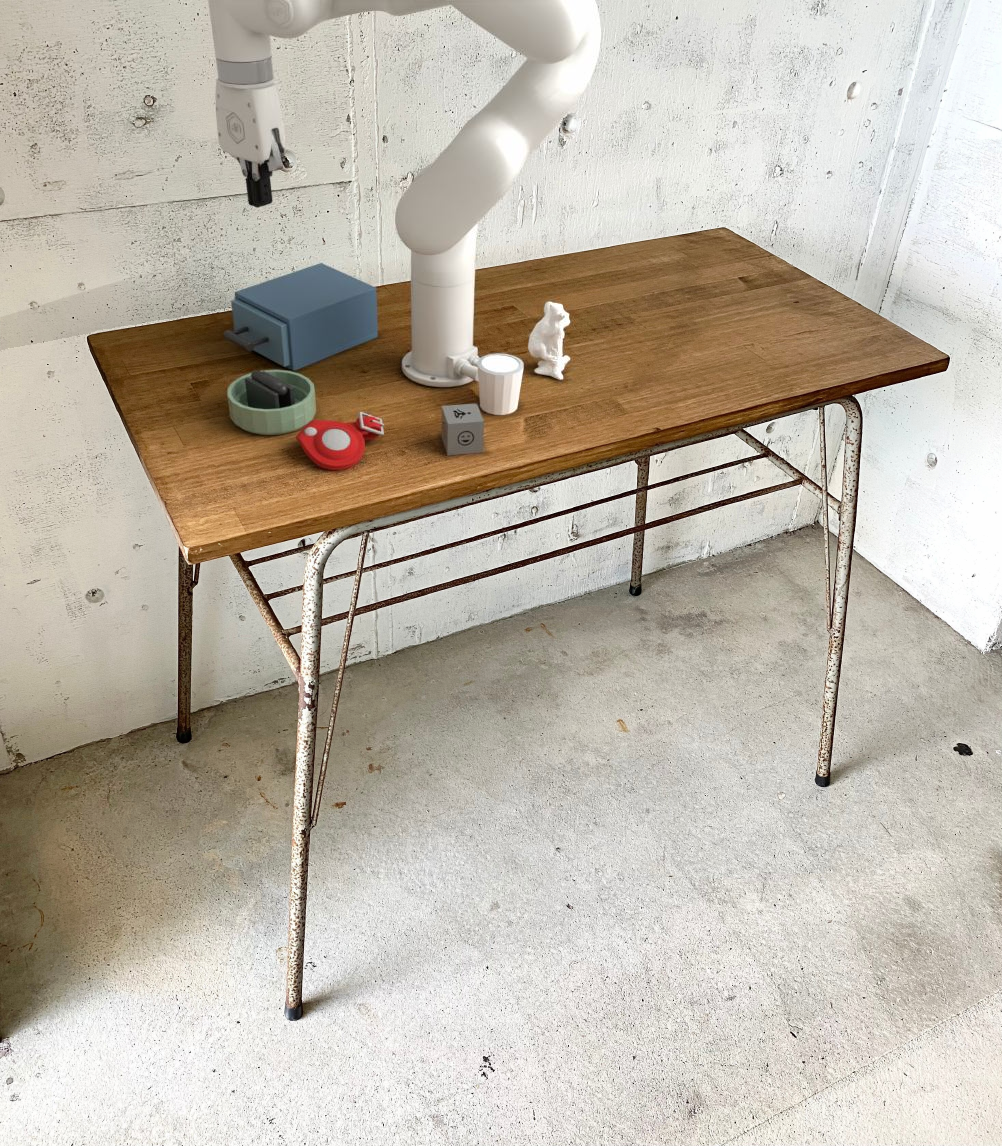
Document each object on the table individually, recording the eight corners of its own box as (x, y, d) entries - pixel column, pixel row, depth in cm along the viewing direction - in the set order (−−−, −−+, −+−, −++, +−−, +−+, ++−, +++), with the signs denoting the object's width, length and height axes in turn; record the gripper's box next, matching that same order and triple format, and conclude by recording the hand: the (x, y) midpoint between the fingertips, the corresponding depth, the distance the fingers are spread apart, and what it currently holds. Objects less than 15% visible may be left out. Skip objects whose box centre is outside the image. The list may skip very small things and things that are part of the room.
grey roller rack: (297, 417, 158) (294, 382, 154) (278, 425, 156) (274, 390, 152) (265, 399, 161) (262, 365, 158) (247, 407, 159) (243, 372, 156)
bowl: (333, 416, 159) (331, 390, 157) (266, 446, 152) (263, 420, 150) (280, 386, 166) (278, 361, 163) (213, 414, 158) (209, 388, 156)
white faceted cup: (493, 389, 168) (495, 348, 163) (530, 404, 165) (533, 361, 160) (466, 407, 163) (467, 364, 159) (504, 421, 160) (506, 378, 156)
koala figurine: (575, 383, 170) (582, 310, 163) (532, 384, 170) (537, 311, 162) (565, 358, 177) (571, 287, 170) (524, 359, 176) (528, 288, 169)
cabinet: (293, 371, 170) (289, 319, 165) (240, 342, 177) (234, 291, 172) (378, 337, 180) (376, 287, 175) (324, 310, 187) (321, 262, 182)
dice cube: (441, 436, 156) (441, 405, 153) (475, 434, 157) (476, 403, 154) (447, 455, 152) (448, 423, 149) (482, 452, 153) (484, 421, 150)
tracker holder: (349, 471, 146) (284, 440, 147) (347, 492, 149) (283, 461, 151) (392, 414, 153) (329, 384, 154) (389, 435, 156) (328, 405, 157)
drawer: (262, 376, 166) (257, 334, 162) (213, 348, 173) (207, 308, 169) (364, 334, 179) (363, 295, 175) (315, 310, 185) (313, 272, 181)
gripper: (189, 65, 152) (208, 198, 163) (258, 85, 144) (273, 223, 155) (233, 56, 156) (248, 186, 167) (302, 75, 149) (314, 210, 160)
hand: (260, 203), depth 161 cm, fingers closed
